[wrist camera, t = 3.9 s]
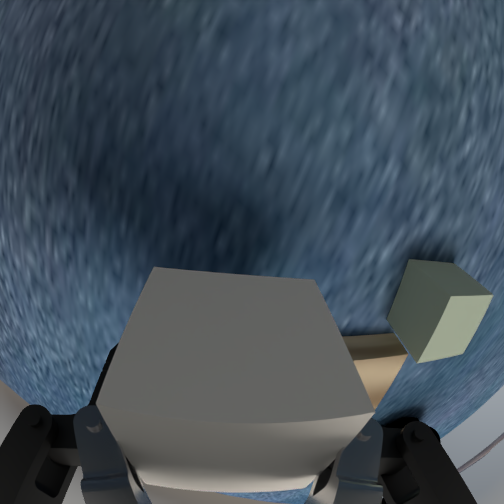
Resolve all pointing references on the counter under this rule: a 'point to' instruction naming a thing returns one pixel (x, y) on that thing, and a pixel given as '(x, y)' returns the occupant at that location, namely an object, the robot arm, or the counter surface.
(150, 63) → the counter surface
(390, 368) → the oak plinth
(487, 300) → the sage cube
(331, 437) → the white cube
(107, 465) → the robot arm
